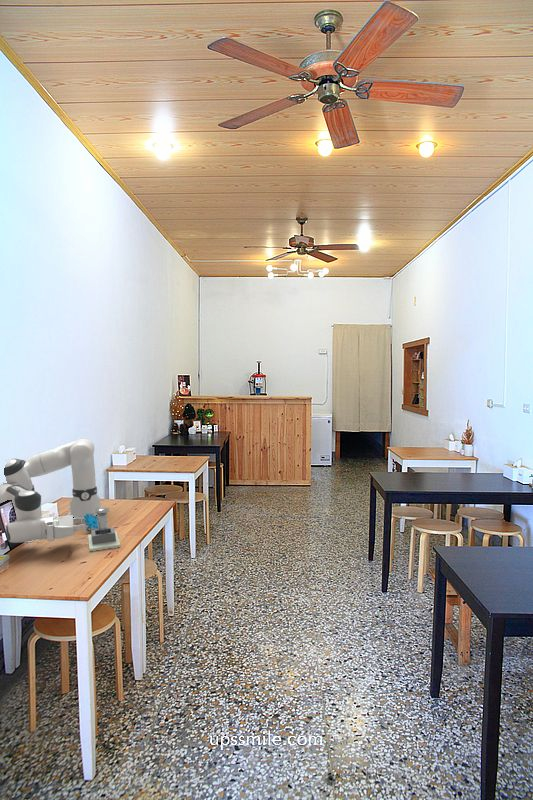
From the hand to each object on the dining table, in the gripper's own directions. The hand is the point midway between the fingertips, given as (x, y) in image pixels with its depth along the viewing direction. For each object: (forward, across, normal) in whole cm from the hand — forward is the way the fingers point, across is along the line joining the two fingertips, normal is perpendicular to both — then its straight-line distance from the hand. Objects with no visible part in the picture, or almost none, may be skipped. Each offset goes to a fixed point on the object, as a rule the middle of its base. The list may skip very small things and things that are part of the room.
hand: (85, 523), depth 212 cm
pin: (+7, 0, -8) cm, 11 cm away
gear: (+4, -21, -10) cm, 24 cm away
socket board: (+7, 0, -10) cm, 12 cm away
